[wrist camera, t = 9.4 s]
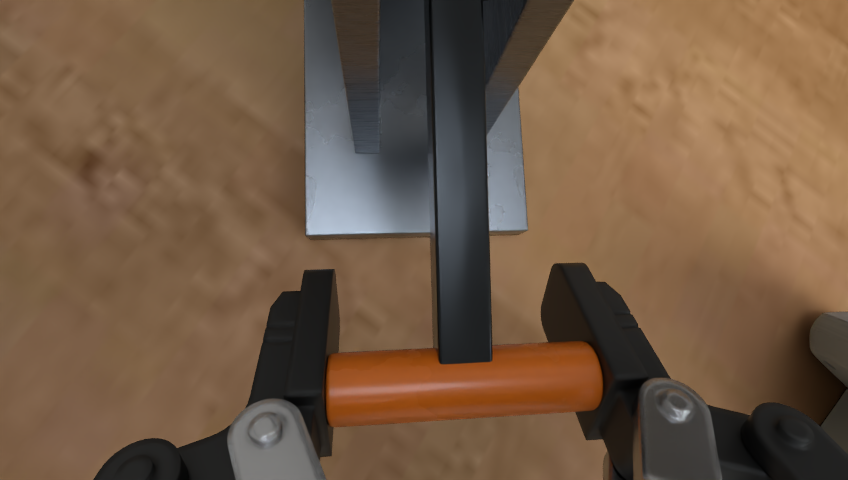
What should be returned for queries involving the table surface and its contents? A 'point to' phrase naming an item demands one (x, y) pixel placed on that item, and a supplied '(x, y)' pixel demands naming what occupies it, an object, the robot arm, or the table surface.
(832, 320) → the digital clock
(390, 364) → the switch lever
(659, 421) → the robot arm
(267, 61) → the table surface
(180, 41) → the table surface
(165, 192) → the table surface
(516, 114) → the switch bracket
